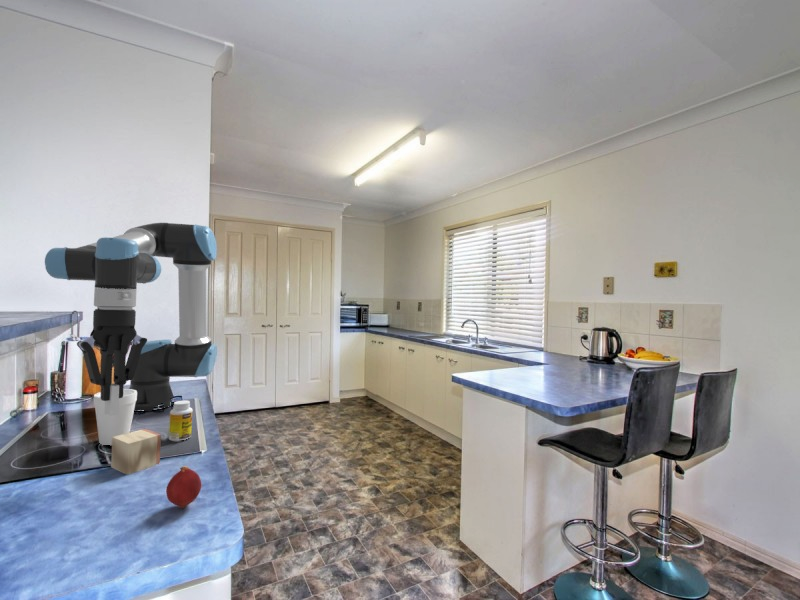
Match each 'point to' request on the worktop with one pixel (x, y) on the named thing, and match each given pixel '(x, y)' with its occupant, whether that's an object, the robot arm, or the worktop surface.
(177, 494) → the onion
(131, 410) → the foam cup
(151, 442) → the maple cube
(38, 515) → the worktop surface
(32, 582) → the worktop surface
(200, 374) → the robot arm
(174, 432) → the supplement bottle
